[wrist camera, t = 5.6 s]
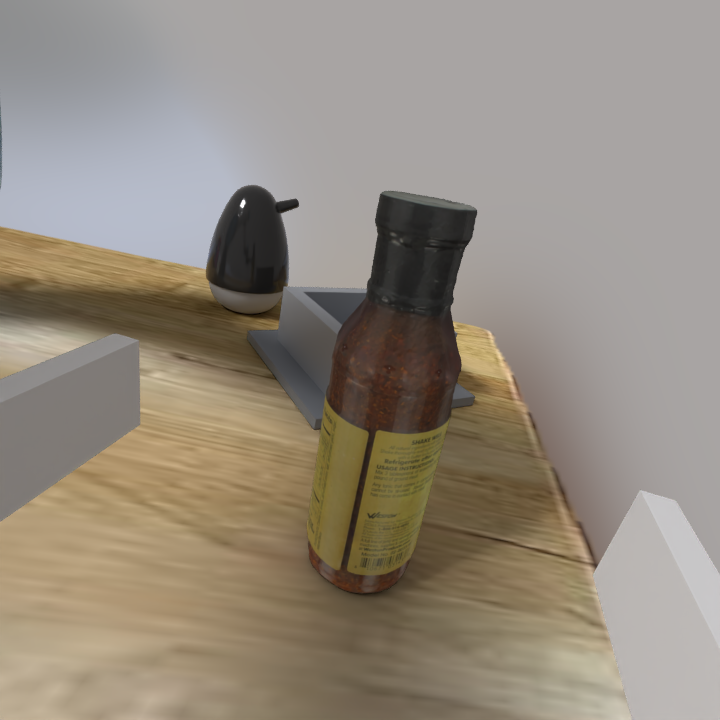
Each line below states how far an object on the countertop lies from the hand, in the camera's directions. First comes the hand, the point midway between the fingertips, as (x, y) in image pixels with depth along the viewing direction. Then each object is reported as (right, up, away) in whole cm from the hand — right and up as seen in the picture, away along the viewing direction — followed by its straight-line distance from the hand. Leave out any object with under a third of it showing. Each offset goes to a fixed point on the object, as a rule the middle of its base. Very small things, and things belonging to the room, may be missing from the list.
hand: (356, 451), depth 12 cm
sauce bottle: (0, -9, +15) cm, 17 cm away
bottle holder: (0, +1, +37) cm, 37 cm away
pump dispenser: (-15, +9, +48) cm, 51 cm away
